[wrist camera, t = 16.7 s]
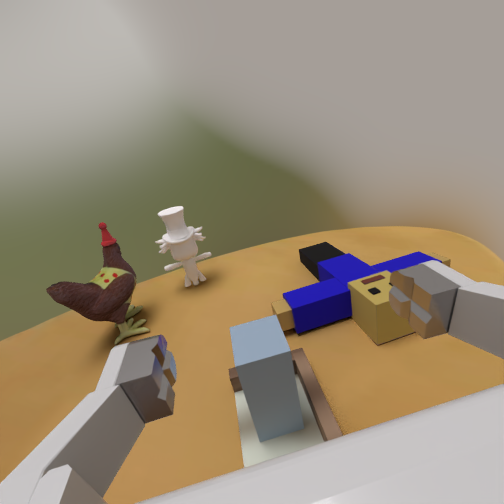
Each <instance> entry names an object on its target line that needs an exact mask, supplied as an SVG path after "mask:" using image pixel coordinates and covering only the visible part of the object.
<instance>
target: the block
mask: <svg viewBox="0 0 504 504" xmlns="http://www.w3.org/2000/svg"><path fill="white" fill-rule="evenodd" d="M230 333H231V340H232V347H233V354H234V361H235V367H236V370H237V373H238V377H239V380H240V383H241V386H242V389H243V392H244V395H245V398H246V401H247V404H248V407H249V410H250V413H251V417H252V420H253V423H254V426H255V429H256V432H257V435H258V438H259V441H260V442H263V441H266V440H270V439H273V438H276V437H279V436H282V435H286V434H289V433H292V432H295V431H298V430H302V429H304V424H303V418H302V413H301V407H300V401H299V396H298V390H297V384H296V379H295V373H294V367H293V362H292V356H291V351H290V348H289V346H288V343H287V341H286V338H285V336H284V333H283V331H282V328H281V326H280V323H279V321H278V319H277V316H276V315H273V316H269V317H266V318H262V319H259V320H255V321H251V322H248V323H244V324H241V325H237V326H233V327H230Z"/></svg>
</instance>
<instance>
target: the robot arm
mask: <svg viewBox="0 0 504 504" xmlns="http://www.w3.org/2000/svg"><path fill="white" fill-rule="evenodd" d="M390 283H391V284H392V285H393V287H392V288H391V290H390V291H389V302H390V305H391V307H392V309H393V310H394V312H395V313H396V314H397V315H398V316H399V317H402V318H404V319H407V320H409V326H410V327H411V328H412V329H413V330H414V331H416V332H417V333H418V334H419V335H420V336H421V337H422V338H423V339H427V338H430V337H434V336H438V335H442V334H445V333H448V334H449V335H451V336H453V337H456V338H458V339H460V340H462V341H465V342H467V343H469V344H471V345H474V346H476V347H478V348H480V349H483V350H485V351H487V352H489V353H492V354H494V355H496V356H498V357H501V358H503V359H504V286H501V285H496V284H491V283H486V282H478V283H477V282H475V281H473V280H471V279H470V278H468V277H466V276H464V275H462V274H460V273H459V272H457V271H455V270H453V269H451V268H450V267H448V266H446V265H444V264H442V263H440V262H439V261H435V260H431V261H427V262H424V263H421V264H418V265H415V266H411V267H408V268H404V269H400V270H397V271H393V272H392V273H391V275H390ZM166 347H167V342H166V340H165V338H164V336H163V335H157V336H153V337H149V338H145V339H141V340H137V341H133V342H130V343H125V344H122V345H118V346H115V347H114V348H112V349H111V352H110V354H109V357H108V359H107V362H106V364H105V367H104V369H103V372H102V374H101V377H100V379H99V382H98V384H97V387H96V389H95V392H91V393H89V394H88V395H87V396H86V397H85V398H84V399H83V400H82V401H81V402H80V403H79V404H78V405H77V406H76V407H75V408H74V409H73V410H72V411H71V412H70V413H69V414H68V415H67V416H66V417H65V418H64V419H63V420H62V421H61V422H60V423H59V424H58V425H57V427H56V428H55V429H54V430H53V431H52V432H51V433H50V434H49V435H48V436H47V437H46V438H45V439H44V440H43V441H42V442H41V443H40V444H39V445H38V446H37V447H36V448H35V449H34V450H33V451H32V452H31V453H30V454H29V455H28V456H27V457H26V458H25V459H24V460H23V461H22V462H21V463H20V464H19V465H18V466H17V467H16V468H15V469H14V470H13V471H12V472H11V473H10V474H9V475H8V476H7V477H6V478H5V479H4V480H3V481H2V482H1V484H0V504H108V503H107V502H106V501H105V500H104V499H103V496H104V494H105V493H106V491H107V489H108V488H109V486H110V484H111V482H112V481H113V479H114V477H115V476H116V474H117V472H118V471H119V469H120V467H121V466H122V464H123V462H124V460H125V459H126V457H127V455H128V454H129V452H130V450H131V449H132V447H133V445H134V443H135V442H136V440H137V438H138V437H139V435H140V433H141V432H142V430H143V428H144V427H145V423H148V422H151V421H154V420H157V419H160V418H163V417H166V416H169V415H172V414H173V409H174V398H175V393H174V391H173V389H172V386H173V385H174V383H175V382H176V374H177V373H176V364H175V360H174V357H173V355H172V353H171V352H170V351H168V350H166ZM135 504H504V384H501V385H498V386H495V387H492V388H489V389H486V390H483V391H480V392H477V393H474V394H470V395H467V396H464V397H461V398H458V399H455V400H452V401H449V402H446V403H443V404H440V405H437V406H434V407H430V408H427V409H424V410H421V411H418V412H415V413H412V414H409V415H406V416H403V417H400V418H397V419H393V420H390V421H387V422H384V423H381V424H378V425H375V426H372V427H369V428H366V429H363V430H359V431H356V432H353V433H350V434H347V435H344V436H341V437H338V438H335V439H332V440H329V441H325V442H322V443H319V444H316V445H313V446H310V447H307V448H304V449H301V450H298V451H295V452H292V453H289V454H285V455H282V456H279V457H276V458H273V459H270V460H267V461H264V462H261V463H258V464H255V465H252V466H249V467H245V468H242V469H239V470H236V471H233V472H230V473H227V474H224V475H221V476H218V477H215V478H212V479H209V480H206V481H202V482H199V483H196V484H193V485H190V486H187V487H184V488H181V489H178V490H175V491H172V492H169V493H165V494H162V495H159V496H156V497H153V498H150V499H147V500H144V501H141V502H138V503H135Z"/></svg>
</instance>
